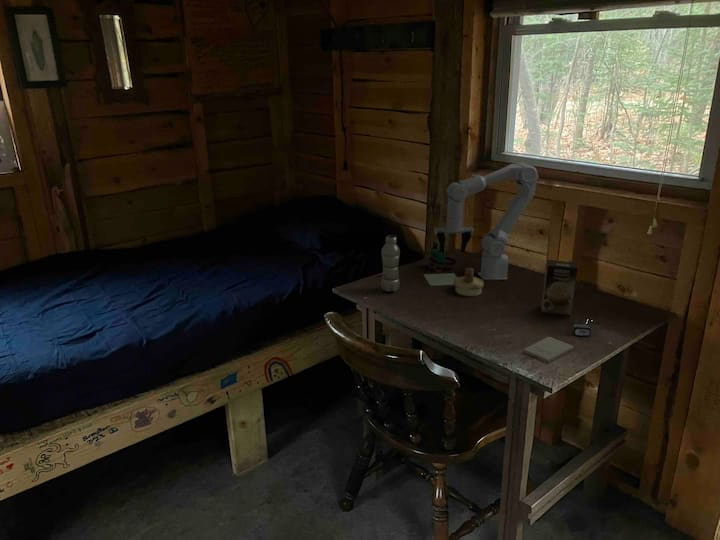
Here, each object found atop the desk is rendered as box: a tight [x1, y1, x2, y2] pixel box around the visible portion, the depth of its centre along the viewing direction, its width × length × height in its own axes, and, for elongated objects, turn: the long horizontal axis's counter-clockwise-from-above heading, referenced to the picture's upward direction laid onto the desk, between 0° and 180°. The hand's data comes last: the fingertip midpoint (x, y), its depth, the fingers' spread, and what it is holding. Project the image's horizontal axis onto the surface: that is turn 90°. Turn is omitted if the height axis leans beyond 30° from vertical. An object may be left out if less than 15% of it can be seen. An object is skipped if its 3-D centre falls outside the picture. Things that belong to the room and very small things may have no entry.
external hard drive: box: [522, 336, 575, 364], centre depth 156 cm, size 2×8×12 cm
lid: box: [453, 267, 485, 290], centre depth 196 cm, size 10×10×6 cm
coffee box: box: [540, 259, 578, 316], centre depth 181 cm, size 9×6×16 cm
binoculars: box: [428, 241, 457, 273], centre depth 220 cm, size 9×11×10 cm
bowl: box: [455, 286, 483, 297], centre depth 197 cm, size 8×8×3 cm
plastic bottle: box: [380, 234, 401, 293], centre depth 196 cm, size 6×7×20 cm
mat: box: [422, 272, 458, 287], centre depth 209 cm, size 12×12×1 cm
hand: (452, 252), depth 208 cm, fingers open, 7 cm apart
